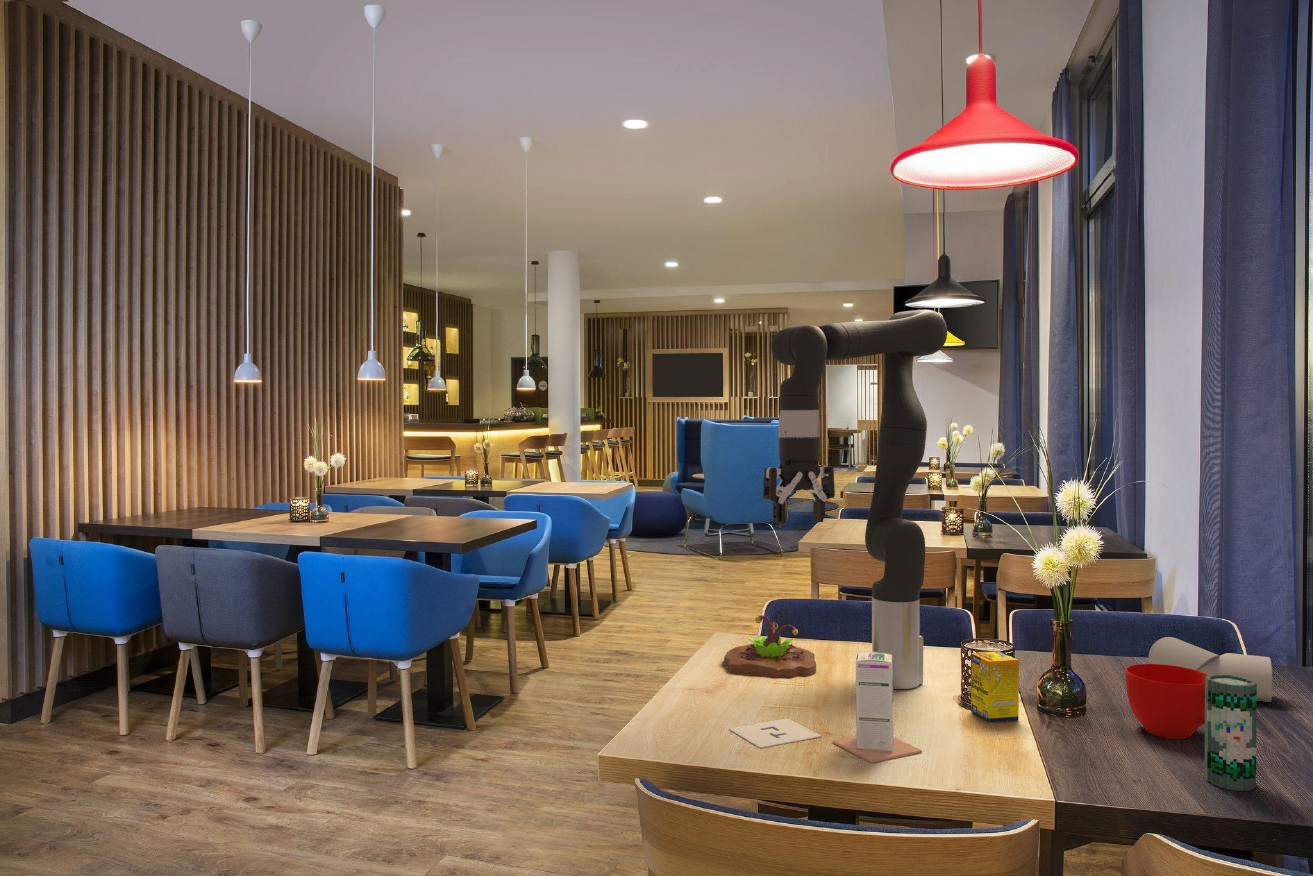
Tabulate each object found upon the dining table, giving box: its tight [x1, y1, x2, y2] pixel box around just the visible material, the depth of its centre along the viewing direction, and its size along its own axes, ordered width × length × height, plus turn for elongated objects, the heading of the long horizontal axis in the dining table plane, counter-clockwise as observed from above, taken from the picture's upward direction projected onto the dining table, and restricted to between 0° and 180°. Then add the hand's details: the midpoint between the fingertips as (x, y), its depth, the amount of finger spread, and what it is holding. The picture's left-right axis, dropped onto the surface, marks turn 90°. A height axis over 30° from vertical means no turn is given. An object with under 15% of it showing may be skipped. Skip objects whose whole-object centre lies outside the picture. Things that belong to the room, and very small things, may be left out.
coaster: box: [831, 735, 923, 764], centre depth 148 cm, size 10×10×1 cm
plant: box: [723, 614, 817, 679], centre depth 198 cm, size 20×20×11 cm
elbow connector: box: [1148, 636, 1273, 704], centre depth 180 cm, size 18×11×20 cm
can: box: [1204, 674, 1258, 792], centre depth 133 cm, size 6×6×15 cm
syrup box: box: [855, 651, 895, 752], centre depth 148 cm, size 6×6×14 cm
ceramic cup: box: [1124, 663, 1208, 740], centre depth 153 cm, size 13×17×10 cm
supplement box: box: [970, 650, 1020, 724], centre depth 163 cm, size 6×6×11 cm
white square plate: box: [728, 718, 822, 749], centre depth 155 cm, size 12×10×1 cm
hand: (799, 523), depth 168 cm, fingers open, 8 cm apart
